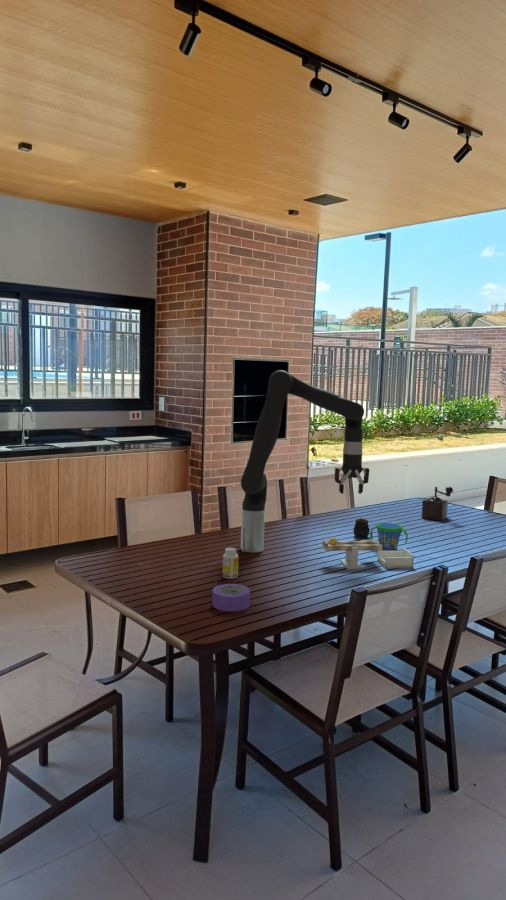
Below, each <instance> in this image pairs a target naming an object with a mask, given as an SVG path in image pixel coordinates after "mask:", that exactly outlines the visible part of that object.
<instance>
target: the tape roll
mask: <svg viewBox="0 0 506 900" xmlns="http://www.w3.org/2000/svg"><path fill="white" fill-rule="evenodd" d="M250 604H251V590H250V588H249V587H248V586H246V585H243V584H240V583H239V584H237V583H225V584H219V585H217V586H214V587H213V588H212V607H213V608H215V609H217V610H219V611H223V612H240V611H243V610H247V609H248V608H250V606H251V605H250Z"/></svg>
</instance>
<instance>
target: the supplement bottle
mask: <svg viewBox="0 0 506 900" xmlns="http://www.w3.org/2000/svg"><path fill="white" fill-rule="evenodd" d="M222 576H223V578H224V579H229V580H230V579H231V580H232V579H236V578H237V579H238V577H239V554H238V553H237V548H235V547H227V548H225V549H224V553H223V554H222Z"/></svg>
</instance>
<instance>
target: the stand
mask: <svg viewBox="0 0 506 900" xmlns="http://www.w3.org/2000/svg"><path fill="white" fill-rule="evenodd" d="M358 559H359V551H358V547H352V548H351V551H345V558H341V559H340V560H339V561H340V563H342V564H343V566H344V567H345V568H346V570H363V569H364V566H362V565H361V563H359V560H358Z"/></svg>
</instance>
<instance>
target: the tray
mask: <svg viewBox="0 0 506 900" xmlns="http://www.w3.org/2000/svg"><path fill="white" fill-rule="evenodd" d="M414 558H415V554H413V553H412V552H411V551H409V550H408V549H407V548H405V547H404V548H402V550H394V551H390V550H377V562H378V563H379V564H381V565H382V567H383V568H384V569H412V568H414V565H415V564H414V563H415V562H414V561H415V560H414Z"/></svg>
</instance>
